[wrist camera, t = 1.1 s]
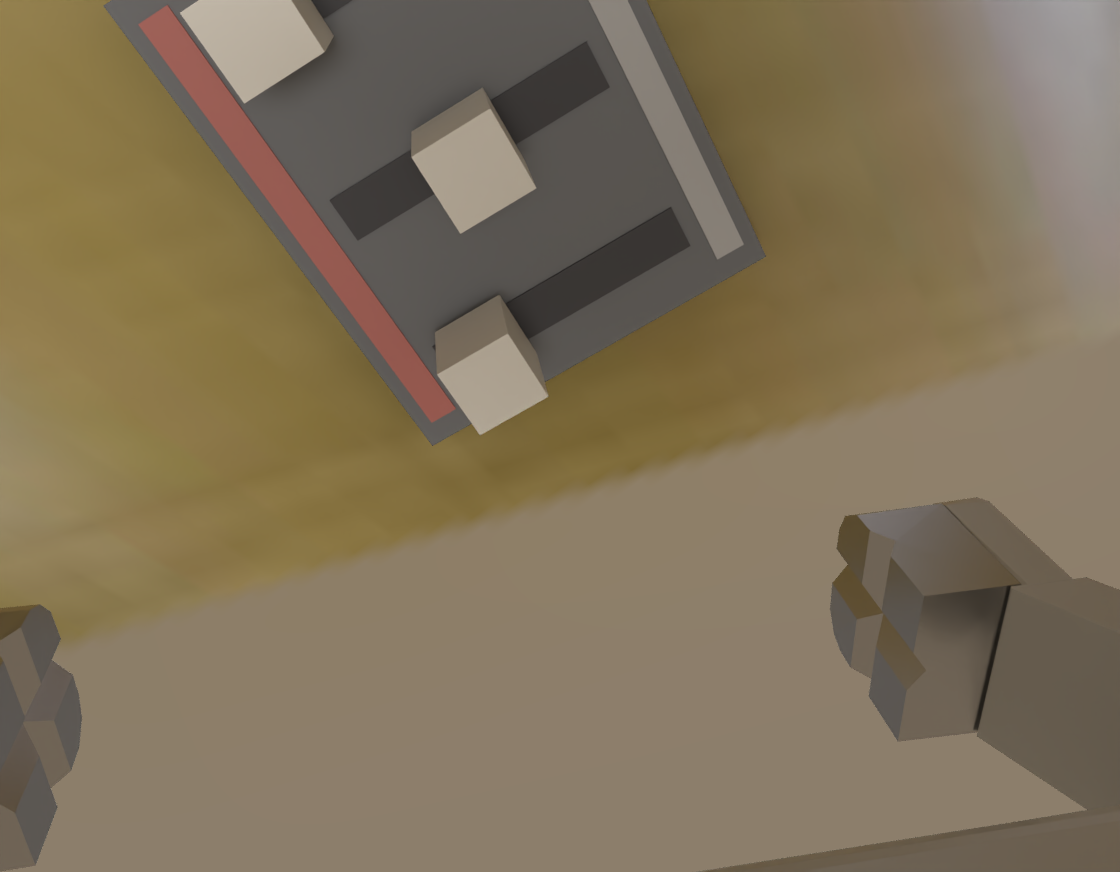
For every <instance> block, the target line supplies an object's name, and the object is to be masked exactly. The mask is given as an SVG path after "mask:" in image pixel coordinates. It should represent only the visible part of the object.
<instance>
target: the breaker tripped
mask: <svg viewBox="0 0 1120 872" xmlns="http://www.w3.org/2000/svg"><path fill="white" fill-rule="evenodd" d="M411 157H412V159H413V161H414V162H415V164H416V165H417V167H418V168H419V170H420V172H421V173H422V175H423V176H424V178H425V179H426V181H427V182H428V184H429V186H430V187H431V189H432V190H433V192H434V193H435V195H436V197H437V198H438V200H439V201H440V203H441V204H442V206H443V208H444V209H445V211H446V212H447V214H448V215H449V217H450V218H451V220H452V222H453V223H454V225H455V226H456V228H457V229H458V231H459V233H460V234H461V233H463V232H464V231H466V230H468V229H469V228H471V227H473V226H474V225H476V224H478V223H479V222H481V221H483V220H484V219H486V218H488V217H489V216H491V215H493V214H494V213H496V212H498V211H499V210H501V209H503V208H504V207H506V206H508V205H509V204H511V203H513V202H514V201H516V200H518V199H519V198H521V197H523V196H524V195H526V194H528V193H530V192H531V191H533V190H535V189H536V186H535V183H534V181H533V179H532V176H531V174H530V172H529V169H528V167H527V165H526V162H525V160H524V158H523V157H522V155H521V153H520V151H519V150H518V148H517V146H516V144H515V143H514V141H513V139H512V138H511V136H510V134H509V132H508V131H507V129H506V127H505V125H504V124H503V122H502V120H501V118H500V117H499V115H498V113H497V112H496V110H495V108H494V106H493V105H492V103H491V101H490V99H489V98H488V96H487V94H486V92H485V91H484V89H483V87H482V88H481V89H479V90H478V91H476V92H474V93H473V94H471V95H470V96H468V97H466V98H465V99H463V100H462V101H460V102H458V103H457V104H455V105H453V106H452V107H450V108H449V109H447V110H445V111H444V112H442V113H441V114H439V115H437V116H436V117H434V118H433V119H431V120H429V121H428V122H426V123H424V124H423V125H421V126H420V127H418V128H416V129H415V130H413V131H412V132H411Z"/></svg>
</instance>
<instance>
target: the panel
mask: <svg viewBox="0 0 1120 872" xmlns="http://www.w3.org/2000/svg"><path fill="white" fill-rule="evenodd" d="M197 1H198V0H111V1H110V2H108V3H107V4H105V5H104V7H105V8H106V10H107V11H108V12H109V14H110V15H111V16H112V18H113V19H114V21H115V22H116V23H117V25H118V26H119V27H120V29H121V30H122V31H123V33H124V34H125V35H126V37H127V38H128V39H129V41H130V42H131V43H132V45H133V46H134V47H135V49H136V50H137V51H138V53H139V54H140V55H141V57H142V58H143V59H144V61H145V62H146V63H147V65H148V66H149V67H150V69H151V70H152V71H153V73H154V74H155V75H156V77H157V78H158V79H159V81H160V82H161V83H162V85H163V86H164V87H165V89H166V90H167V91H168V93H169V94H170V95H171V97H172V98H173V99H174V101H175V102H176V103H177V105H178V106H179V107H180V109H181V110H182V111H183V113H184V114H185V115H186V117H187V118H188V119H189V121H190V122H191V123H192V125H193V126H194V128H195V129H196V130H197V132H198V133H199V134H200V136H201V137H202V138H203V140H204V141H205V142H206V144H207V145H208V146H209V148H210V149H211V150H212V152H213V153H214V154H215V156H216V157H217V158H218V160H219V161H220V162H221V164H222V165H223V166H224V168H225V169H226V170H227V172H228V173H229V174H230V176H231V177H232V178H233V180H234V181H235V182H236V184H237V185H238V186H239V188H240V189H241V190H242V192H243V193H244V194H245V196H246V197H247V198H248V200H249V201H250V202H251V204H252V205H253V206H254V208H255V209H256V210H257V212H258V213H259V214H260V216H261V217H262V218H263V220H264V221H265V222H266V224H267V225H268V226H269V228H270V229H271V230H272V232H273V233H274V235H275V236H276V237H277V239H278V240H279V241H280V243H281V244H282V245H283V247H284V248H285V249H286V251H287V252H288V253H289V255H290V256H291V257H292V259H293V260H294V261H295V263H296V264H297V265H298V267H299V268H300V269H301V271H302V272H303V273H304V275H305V276H306V277H307V279H308V280H309V281H310V283H311V284H312V285H313V287H314V288H315V289H316V291H317V292H318V293H319V295H320V296H321V297H322V299H323V300H324V301H325V303H326V304H327V305H328V307H329V308H330V309H331V311H332V312H333V313H334V315H335V316H336V317H337V319H338V320H339V321H340V323H341V324H342V325H343V327H344V328H345V329H346V331H347V332H348V333H349V335H350V336H351V337H352V339H353V340H354V342H355V343H356V344H357V346H358V347H359V348H360V350H361V351H362V352H363V354H364V355H365V356H366V358H367V359H368V360H369V362H370V363H371V364H372V366H373V367H374V368H375V370H376V371H377V372H378V374H379V375H380V376H381V378H382V379H383V380H384V382H385V383H386V384H387V386H388V387H389V388H390V390H391V391H392V392H393V394H394V395H395V396H396V398H397V399H398V400H399V402H400V403H401V404H402V406H403V407H404V408H405V410H406V411H407V412H408V414H409V415H410V416H411V418H412V419H413V420H414V422H415V423H416V424H417V426H418V427H419V428H420V430H421V431H422V432H423V434H424V435H425V436H426V438H427V439H428V440H429V442H430V443H431V444H432V446H433V445H435V444H437V443H438V442H440V441H442V440H444V439H445V438H447V437H449V436H451V435H453V434H454V433H456V432H458V431H460V430H461V429H463V428H465V427H467V426H468V425H470V424H472V423H471V422H470V420H469V419H468V418H467V416H466V415H465V413H464V412H463V411H462V409H461V408H460V406H459V405H458V403H457V402H456V401H455V399H454V398H453V396H452V395H451V394H450V392H449V391H448V389H447V388H446V387H445V385H444V384H443V382H442V381H441V380H440V378H439V377H438V375H437V365H436V345H435V332H436V331H438V330H440V329H441V328H443V327H445V326H446V325H448V324H450V323H452V322H453V321H455V320H457V319H458V318H460V317H462V316H464V315H465V314H467V313H469V312H470V311H472V310H474V309H475V308H477V307H479V306H481V305H482V304H484V303H486V302H487V301H489V300H491V299H493V298H494V297H496V296H498V295H500V296H501V298H502V300H503V301H504V303H505V304H506V306H507V307H508V309H509V311H510V312H511V314H512V315H513V317H514V318H515V320H516V322H517V323H518V325H519V326H520V328H521V329H522V331H523V332H524V334H525V336H526V337H527V339H528V340H529V342H530V343H531V345H532V347H533V348H534V350H535V351H536V353H537V356H538V359H539V363H540V367H541V370H542V374H543V378H544V381H545V382H546V381H548V380H549V379H551V378H553V377H555V376H556V375H558V374H560V373H562V372H564V371H565V370H567V369H569V368H571V367H572V366H574V365H576V364H578V363H579V362H581V361H583V360H585V359H586V358H588V357H590V356H592V355H593V354H595V353H597V352H599V351H601V350H602V349H604V348H606V347H608V346H609V345H611V344H613V343H615V342H616V341H618V340H620V339H622V338H623V337H625V336H627V335H629V334H631V333H632V332H634V331H636V330H638V329H639V328H641V327H643V326H645V325H646V324H648V323H650V322H652V321H653V320H655V319H657V318H659V317H660V316H662V315H664V314H666V313H668V312H669V311H671V310H673V309H675V308H676V307H678V306H680V305H682V304H683V303H685V302H687V301H689V300H690V299H692V298H694V297H696V296H697V295H699V294H701V293H703V292H705V291H706V290H708V289H710V288H712V287H713V286H715V285H717V284H719V283H720V282H722V281H724V280H726V279H727V278H729V277H731V276H733V275H734V274H736V273H738V272H740V271H742V270H743V269H745V268H747V267H749V266H750V265H752V264H754V263H756V262H757V261H759V260H761V259H763V258H764V257H766V255H765V253H764V251H763V249H762V247H761V245H760V242H759V240H758V238H757V236H756V234H755V232H754V230H753V227H752V225H751V223H750V221H749V219H748V217H747V215H746V212H745V210H744V208H743V206H742V204H741V202H740V200H739V197H738V195H737V193H736V191H735V189H734V187H733V185H732V183H731V180H730V178H729V176H728V174H727V172H726V170H725V168H724V165H723V163H722V161H721V159H720V157H719V155H718V153H717V150H716V148H715V146H714V144H713V142H712V140H711V138H710V135H709V133H708V131H707V129H706V127H705V125H704V123H703V120H702V118H701V116H700V114H699V112H698V110H697V108H696V105H695V103H694V101H693V99H692V97H691V95H690V93H689V90H688V88H687V86H686V84H685V82H684V80H683V78H682V76H681V73H680V71H679V69H678V67H677V65H676V63H675V61H674V58H673V56H672V54H671V52H670V50H669V48H668V46H667V43H666V41H665V39H664V37H663V35H662V33H661V31H660V28H659V26H658V24H657V22H656V20H655V18H654V16H653V13H652V11H651V9H650V7H649V5H648V3H647V1H646V0H311V1H312V2H313V4H314V5H315V7H316V9H317V10H318V12H319V13H320V15H321V16H322V18H323V20H324V21H325V23H326V24H327V26H328V27H329V29H330V30H331V32H332V34H333V35H334V37H333V39H332V40H331V42H330V44H329V46H328V47H327V49H326V51H325V52H324V53H322V54H321V55H319V56H318V57H316V58H315V59H313V60H311V61H310V62H308V63H307V64H305V65H304V66H302V67H301V68H299V69H297V70H296V71H294V72H293V73H291V74H290V75H288V76H287V77H285V78H283V79H282V80H280V81H279V82H277V83H276V84H274V85H273V86H271V87H269V88H268V89H266V90H265V91H263V92H262V93H260V94H259V95H257V96H255V97H254V98H252V99H251V100H249V101H248V102H246V103H245V104H244V103H243V101H242V100H241V98H240V97H239V95H238V94H237V93H236V91H235V90H234V88H233V87H232V86H231V84H230V83H229V81H228V80H227V79H226V77H225V76H224V74H223V73H222V72H221V70H220V69H219V67H218V66H217V65H216V63H215V62H214V60H213V59H212V58H211V56H210V55H209V53H208V52H207V50H206V49H205V48H204V46H203V45H202V43H201V42H200V41H199V39H198V38H197V36H196V35H195V34H194V32H193V31H192V29H191V28H190V27H189V25H188V24H187V22H186V21H185V20H184V18H183V17H182V15H181V14H180V12H182V11H183V10H185V9H186V8H188V7H189V6H191V5H192V4H194V3H195V2H197ZM482 87H483V89H484V91H485V92H486V94H487V96H488V98H489V99H490V101H491V103H492V105H493V106H494V108H495V110H496V112H497V113H498V115H499V117H500V118H501V120H502V122H503V124H504V125H505V127H506V129H507V131H508V132H509V134H510V136H511V138H512V139H513V141H514V143H515V144H516V146H517V148H518V150H519V151H520V153H521V155H522V157H523V158H524V160H525V162H526V165H527V167H528V169H529V172H530V174H531V176H532V179H533V181H534V183H535V186H536V189H535V190H533V191H531V192H530V193H528V194H526V195H524V196H523V197H521V198H519V199H518V200H516V201H514V202H513V203H511V204H509V205H508V206H506V207H504V208H503V209H501V210H499V211H498V212H496V213H494V214H493V215H491V216H489V217H488V218H486V219H484V220H483V221H481V222H479V223H478V224H476V225H474V226H473V227H471V228H469V229H468V230H466V231H464V232H463V233H461V234H460V233H459V231H458V229H457V228H456V226H455V225H454V223H453V222H452V220H451V218H450V217H449V215H448V214H447V212H446V211H445V209H444V208H443V206H442V204H441V203H440V201H439V200H438V198H437V197H436V195H435V193H434V192H433V190H432V189H431V187H430V186H429V184H428V182H427V181H426V179H425V178H424V176H423V175H422V173H421V172H420V170H419V168H418V167H417V165H416V164H415V162H414V161H413V159H412V157H411V132H412V131H413V130H415V129H416V128H418V127H420V126H421V125H423V124H424V123H426V122H428V121H429V120H431V119H433V118H434V117H436V116H437V115H439V114H441V113H442V112H444V111H445V110H447V109H449V108H450V107H452V106H453V105H455V104H457V103H458V102H460V101H462V100H463V99H465V98H466V97H468V96H470V95H471V94H473V93H474V92H476V91H478V90H479V89H481V88H482Z"/></svg>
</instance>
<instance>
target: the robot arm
mask: <svg viewBox="0 0 1120 872" xmlns="http://www.w3.org/2000/svg"><path fill="white" fill-rule="evenodd" d="M837 550H838V551H839V553H840V554H841V556H842V557H843V558H844V560H845V561H846V562H847V564H848V565H847V566H846V567H845V569H844V570H843V571H842V572H841V573H840V575H839V576H838V577H837V578H836V579H835V581H834V582H833V583H832V594H831V605H830V610H831V617H832V624H833V630H834V635H835V638H836V640H837V643H838V646H839V648H840V651H841V652H842V654H843V656H844V658H845V659H846V661H847V662H848V664H849V666H850V667H851V668H853V669H854V670H856V671H858V672H860V673H862V674H864V675H865V676H867V677H869V678H871V685H870V692H869V697H870V699H871V700H872V702H873V703H874V705H875V707H876V708H877V710H878V711H879V713H880V714H881V716H882V717H883V719H884V720H885V722H886V724H887V725H888V726H889V728H890V730H891V731H892V733H893V734H894V736H895V738H896V739H897V741H906V740H914V739H923V738H932V737H940V736H949V735H958V734H966V733H975V732H978V733H977V737H979V738H980V739H982V740H983V741H985V742H986V743H988V744H990V745H991V746H992V747H994V748H995V749H997V750H998V751H1000V752H1001V753H1003V754H1004V755H1006V756H1007V757H1009V758H1010V759H1012V760H1013V761H1015V762H1016V763H1018V764H1019V765H1021V766H1022V767H1024V768H1026V769H1027V770H1029V771H1030V772H1032V773H1033V774H1034V775H1036V776H1037V777H1039V778H1040V779H1042V780H1043V781H1045V782H1047V783H1048V784H1050V785H1051V786H1053V787H1054V788H1056V789H1057V790H1058V791H1060V792H1061V793H1063V794H1065V795H1066V796H1068V797H1069V798H1070V799H1072V800H1074V801H1075V802H1077V803H1078V804H1080V805H1081V806H1083V807H1084V808H1086V809H1087V810H1085V811H1079V812H1073V813H1067V814H1060V815H1055V816H1048V817H1042V818H1036V819H1030V820H1024V821H1018V822H1011V823H1005V824H999V825H993V826H987V827H980V828H974V829H967V830H960V831H954V832H948V833H941V834H935V835H929V836H922V837H915V838H909V839H903V840H896V841H890V842H884V843H877V844H871V845H864V846H858V847H852V848H845V849H839V850H832V851H826V852H820V853H813V854H807V855H801V856H794V857H787V858H781V859H775V860H769V861H762V862H756V863H749V864H743V865H737V866H730V867H723V868H717V869H711V870H704V871H698V872H1120V590H1119V589H1116V588H1113V587H1111V586H1108V585H1105V584H1103V583H1100V582H1097V581H1095V580H1092V579H1089V578H1087V577H1086V578H1077V579H1072V578H1071V577H1070V576H1069V575H1068V574H1067V573H1066V572H1065V571H1064V570H1063V569H1061V568H1060V567H1059V566H1058V565H1057V564H1056V563H1055V562H1054V561H1053V560H1052V559H1051V558H1050V557H1049V556H1047V555H1046V554H1045V553H1044V552H1043V551H1042V550H1041V549H1040V548H1039V547H1038V546H1037V545H1035V543H1033V542H1032V541H1031V540H1030V539H1029V538H1028V537H1027V536H1026V535H1025V534H1024V533H1023V532H1022V531H1020V530H1019V529H1018V528H1017V527H1016V526H1015V525H1014V524H1013V523H1012V522H1011V521H1010V520H1009V519H1008V518H1007V517H1005V516H1004V515H1003V514H1002V513H1001V512H1000V511H999V510H998V509H997V508H996V507H995V506H993V505H992V504H991V503H990V502H989V501H986V500H983V499H980V498H977V497H976V498H970V499H962V500H956V501H949V502H942V503H935V504H933V505H926V506H918V507H912V508H903V509H896V510H888V511H880V512H872V513H864V514H857V515H849V516H845V518H844V520H843V522H842V525H841V527H840V530H839V536H838V543H837ZM60 640H61V638H60V635H59V633H58V630H57V627H56V625H55V622H54V619H53V617H52V614H51V612H50V611H49V610H47V609H46V608H44V607H43V606H41V605H40V604H39V605H28V606H17V607H6V608H0V871H6V870H12V869H18V868H24V867H29V866H35V865H36V863H37V860H38V857H39V855H40V852H41V849H42V846H43V844H44V841H45V839H46V836H47V833H48V831H49V828H50V825H51V823H52V820H53V818H54V815H55V812H56V810H57V805H56V802H55V799H54V796H53V794H52V791H51V788H52V787H53V786H54V785H55V784H56V783H57V782H59V781H60V780H61V779H62V778H63V777H64V776H66V775H67V774H68V773H69V772H70V771H71V769H72V766H73V763H74V761H75V758H76V755H77V752H78V749H79V743H80V732H81V721H82V715H81V708H80V700H79V694H78V690H77V687H76V684H75V681H74V678H73V675H72V674H71V673H69V672H68V671H66V670H65V669H64V668H62V667H61V666H60V665H58V664H57V663H55V662H54V661H52V658H53V655H54V653H55V651H56V649H57V646H58V644H59V642H60Z"/></svg>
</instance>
